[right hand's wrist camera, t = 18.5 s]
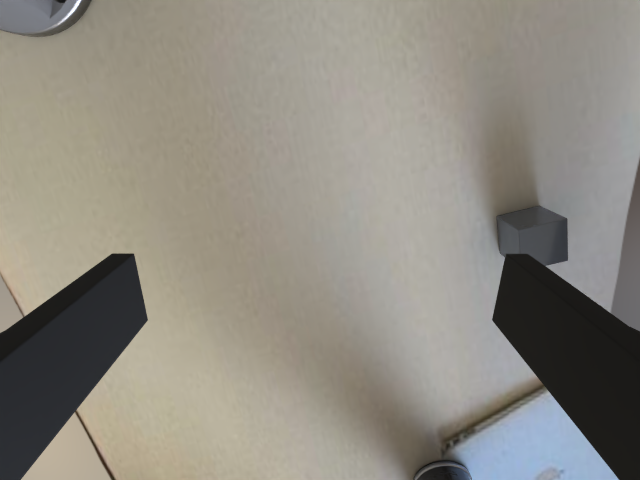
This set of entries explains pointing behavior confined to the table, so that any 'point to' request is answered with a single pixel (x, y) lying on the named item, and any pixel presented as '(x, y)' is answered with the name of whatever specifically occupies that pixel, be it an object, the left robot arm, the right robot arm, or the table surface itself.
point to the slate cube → (534, 235)
